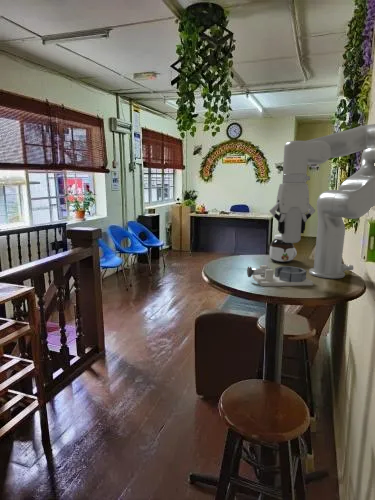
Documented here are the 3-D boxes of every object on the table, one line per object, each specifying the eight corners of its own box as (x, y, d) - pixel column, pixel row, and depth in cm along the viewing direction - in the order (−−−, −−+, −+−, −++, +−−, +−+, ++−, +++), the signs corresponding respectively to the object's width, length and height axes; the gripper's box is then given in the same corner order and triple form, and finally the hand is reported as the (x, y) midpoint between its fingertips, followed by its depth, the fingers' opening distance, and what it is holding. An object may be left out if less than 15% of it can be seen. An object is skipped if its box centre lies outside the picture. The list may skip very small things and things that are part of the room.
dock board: (299, 277, 126) (301, 263, 125) (312, 285, 117) (314, 270, 116) (252, 277, 124) (253, 264, 123) (261, 286, 114) (262, 271, 113)
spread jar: (269, 263, 148) (271, 236, 145) (268, 257, 159) (269, 232, 156) (298, 264, 146) (300, 237, 143) (295, 259, 157) (297, 233, 154)
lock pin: (267, 275, 121) (268, 265, 121) (271, 278, 118) (272, 267, 117) (246, 275, 120) (247, 265, 120) (249, 278, 117) (250, 268, 116)
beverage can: (301, 243, 115) (303, 207, 113) (281, 242, 117) (283, 207, 114) (299, 240, 121) (301, 206, 119) (280, 239, 123) (282, 205, 120)
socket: (297, 274, 126) (298, 266, 125) (309, 281, 116) (310, 273, 116) (271, 274, 125) (272, 266, 124) (282, 282, 115) (283, 273, 115)
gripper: (314, 179, 119) (310, 230, 123) (265, 179, 118) (263, 231, 121) (324, 179, 112) (320, 234, 115) (272, 180, 110) (270, 235, 114)
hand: (291, 232), depth 118 cm, fingers closed on beverage can, 6 cm apart
